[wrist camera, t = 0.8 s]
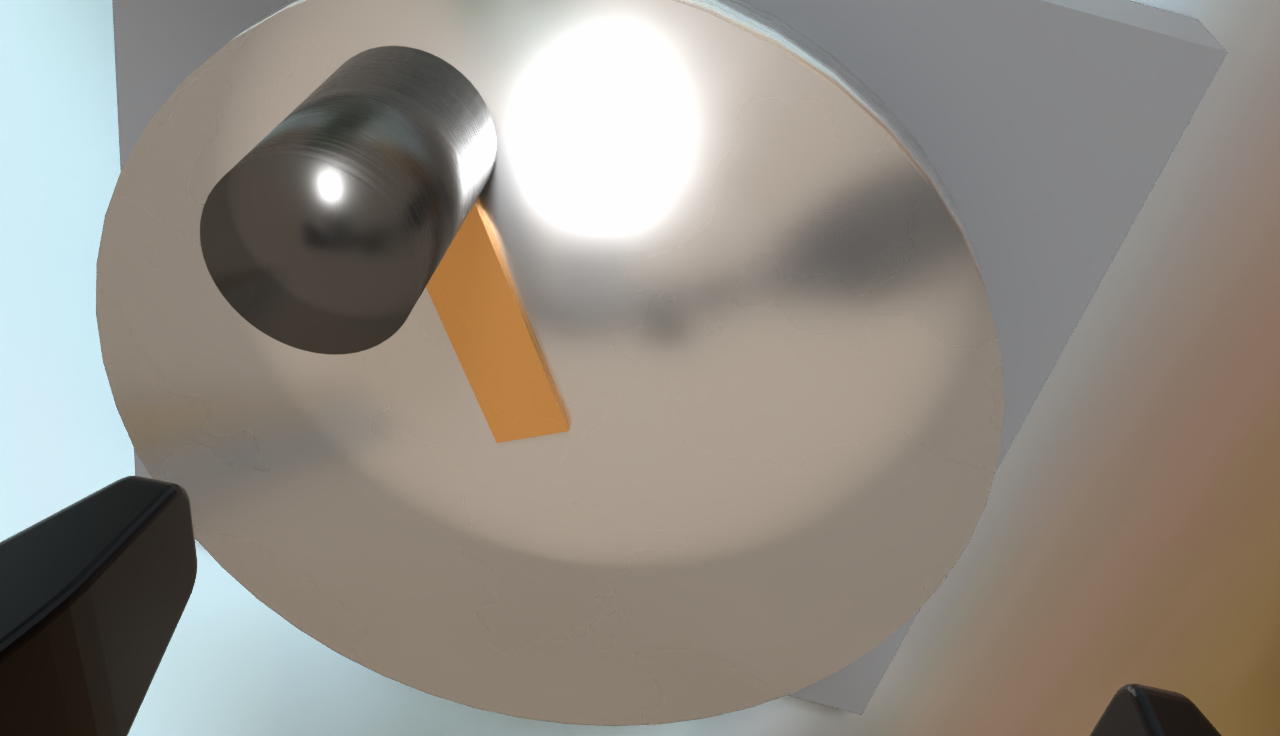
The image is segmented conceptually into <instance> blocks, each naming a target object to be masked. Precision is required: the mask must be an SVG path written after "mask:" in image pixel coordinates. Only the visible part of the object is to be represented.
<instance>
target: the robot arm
mask: <svg viewBox="0 0 1280 736" xmlns="http://www.w3.org/2000/svg"><path fill="white" fill-rule="evenodd" d="M196 573H197V557H196V549H195V540H194V532H193V523H192V515H191V506H190V500H189V496H188V494H187V492H186V490H185V489H184V488H183V487H181V486H179V485H178V484H174V483H170V482H165V481H160V480H155V479H150V478H145V477H140V476H129V477H125V478H122V479H120V480H117V481H115V482H113V483H112V484H110V485H108V486H106V487H104V488H102V489H100V490H98V491H96V492H95V493H93V494H91V495H89V496H87V497H85V498H83V499H81V500H79V501H78V502H76V503H74V504H72V505H70V506H68V507H66V508H64V509H62V510H61V511H59V512H57V513H55V514H53V515H51V516H49V517H47V518H45V519H44V520H42V521H40V522H38V523H36V524H34V525H32V526H30V527H29V528H27V529H25V530H23V531H21V532H19V533H17V534H15V535H13V536H12V537H10V538H8V539H6V540H4V541H2V542H0V736H127V735H128V733H129V731H130V728H131V726H132V724H133V722H134V720H135V717H136V715H137V713H138V711H139V709H140V706H141V704H142V702H143V700H144V697H145V695H146V693H147V691H148V689H149V686H150V684H151V682H152V680H153V677H154V675H155V673H156V671H157V669H158V666H159V664H160V662H161V660H162V657H163V655H164V653H165V651H166V649H167V646H168V644H169V642H170V640H171V638H172V635H173V633H174V631H175V629H176V626H177V624H178V622H179V620H180V618H181V615H182V613H183V611H184V609H185V606H186V604H187V602H188V600H189V598H190V595H191V593H192V590H193V586H194V583H195V578H196ZM1090 736H1221V734H1220V733H1219V732H1218V731H1217V730H1216V729H1215V727H1214V726H1213V725H1212V724H1211V723H1210V722H1209V720H1208V719H1207V718H1206V717H1205V716H1204V715H1203V714H1202V712H1201V711H1200V710H1199V709H1198V708H1197V707H1196V705H1195V704H1194V703H1193V702H1192V701H1190V700H1189V699H1188V698H1187V697H1185V696H1184V695H1182V694H1180V693H1177V692H1173V691H1168V690H1163V689H1158V688H1154V687H1149V686H1144V685H1139V684H1127V685H1125V686H1123V687H1122V688H1120V689H1119V690H1118V691H1117V693H1116V694H1115V695H1114V697H1113V698H1112V700H1111V702H1110V703H1109V705H1108V707H1107V708H1106V710H1105V712H1104V713H1103V715H1102V717H1101V718H1100V720H1099V721H1098V723H1097V725H1096V726H1095V728H1094V730H1093V731H1092V733H1091V735H1090Z"/></svg>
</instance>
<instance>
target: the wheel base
mask: <svg viewBox="0 0 1280 736" xmlns="http://www.w3.org/2000/svg"><path fill="white" fill-rule="evenodd" d="M289 1H290V0H113V21H114V42H115V62H116V83H117V104H118V125H119V145H120V166H121V170H122V167H123V166H124V164H125V162H126V160H127V159H128V157H129V155H130V153H131V152H132V150H133V148H134V146H135V145H136V143H137V141H138V139H139V138H140V136H141V134H142V133H143V131H144V129H145V127H146V126H147V124H148V122H149V121H150V120H151V118H152V117H153V116H154V115H155V114H156V112H157V111H158V110H159V109H160V108H161V106H162V105H163V104H164V103H165V102H166V101H167V99H168V98H169V97H170V96H171V95H172V93H173V92H174V91H175V90H176V89H177V87H178V86H179V85H180V84H181V83H182V82H183V80H184V79H185V78H186V77H188V76H189V75H190V74H191V73H192V72H194V71H195V70H196V69H197V68H198V67H200V66H201V65H202V64H203V63H204V62H206V61H207V60H208V59H209V58H210V57H212V56H213V55H214V54H215V53H216V52H218V51H219V50H220V49H221V48H222V47H223V46H225V45H226V44H227V43H228V42H229V41H231V40H232V39H234V38H235V37H236V36H238V35H239V34H241V33H242V32H243V31H245V30H246V29H247V28H249V27H250V26H252V25H253V24H254V23H256V22H257V21H258V20H260V19H261V18H263V17H264V16H265V15H267V14H268V13H270V12H272V11H273V10H275V9H277V8H279V7H280V6H282V5H284V4H285V3H287V2H289ZM745 1H747V2H749V3H751V4H753V5H755V6H757V7H759V8H761V9H762V10H764V11H766V12H768V13H770V14H772V15H774V16H776V17H778V18H779V19H781V20H782V21H784V22H785V23H787V24H788V25H790V26H791V27H793V28H794V29H795V30H797V31H798V32H800V33H801V34H803V35H804V36H806V37H807V38H809V39H810V40H811V41H813V42H814V43H816V44H817V45H819V46H820V47H822V48H823V49H824V50H826V51H827V52H829V53H830V54H832V55H833V56H835V57H836V58H837V59H838V60H839V61H840V62H841V63H842V64H843V65H844V66H845V67H847V68H848V69H849V70H850V71H851V72H852V73H853V74H854V75H855V76H856V77H858V78H859V79H860V80H861V81H862V82H863V83H864V84H865V85H866V86H867V87H868V88H870V89H871V90H872V91H873V92H874V93H875V94H876V95H877V96H878V97H879V98H881V99H882V100H883V101H884V102H885V104H886V105H887V106H888V107H889V108H890V110H891V111H892V112H893V113H894V115H895V116H896V117H897V118H898V119H899V121H900V122H901V123H902V124H903V125H904V127H905V128H906V129H907V130H908V132H909V133H910V134H911V135H912V136H913V138H914V139H915V140H916V141H917V142H918V144H919V145H920V146H921V147H922V149H923V150H924V151H925V153H926V154H927V156H928V158H929V159H930V161H931V163H932V164H933V166H934V168H935V169H936V171H937V173H938V174H939V176H940V178H941V179H942V181H943V183H944V184H945V186H946V188H947V189H948V191H949V192H950V194H951V196H952V197H953V199H954V201H955V202H956V205H957V207H958V210H959V212H960V215H961V217H962V219H963V222H964V224H965V227H966V229H967V232H968V234H969V236H970V239H971V241H972V244H973V246H974V248H975V251H976V253H977V256H978V260H979V264H980V268H981V272H982V277H983V281H984V285H985V289H986V293H987V297H988V301H989V306H990V310H991V314H992V318H993V322H994V327H995V331H996V335H997V339H998V343H999V347H1000V352H1001V364H1002V378H1003V393H1004V415H1003V425H1002V435H1001V445H1000V455H999V459H998V463H997V467H996V470H995V472H996V471H997V469H998V467H999V465H1000V463H1001V462H1002V460H1003V458H1004V456H1005V454H1006V453H1007V451H1008V449H1009V447H1010V445H1011V443H1012V442H1013V440H1014V438H1015V436H1016V434H1017V433H1018V431H1019V429H1020V427H1021V425H1022V424H1023V422H1024V420H1025V418H1026V416H1027V415H1028V413H1029V411H1030V409H1031V407H1032V405H1033V404H1034V402H1035V400H1036V398H1037V396H1038V395H1039V393H1040V391H1041V389H1042V387H1043V386H1044V384H1045V382H1046V380H1047V378H1048V376H1049V375H1050V373H1051V371H1052V369H1053V367H1054V366H1055V364H1056V362H1057V360H1058V358H1059V357H1060V355H1061V353H1062V351H1063V349H1064V348H1065V346H1066V344H1067V342H1068V340H1069V338H1070V337H1071V335H1072V333H1073V331H1074V329H1075V328H1076V326H1077V324H1078V322H1079V320H1080V319H1081V317H1082V315H1083V313H1084V311H1085V310H1086V308H1087V306H1088V304H1089V302H1090V300H1091V299H1092V297H1093V295H1094V293H1095V291H1096V290H1097V288H1098V286H1099V284H1100V282H1101V281H1102V279H1103V277H1104V275H1105V273H1106V271H1107V270H1108V268H1109V266H1110V264H1111V262H1112V261H1113V259H1114V257H1115V255H1116V253H1117V252H1118V250H1119V248H1120V246H1121V244H1122V243H1123V241H1124V239H1125V237H1126V235H1127V233H1128V232H1129V230H1130V228H1131V226H1132V224H1133V223H1134V221H1135V219H1136V217H1137V215H1138V214H1139V212H1140V210H1141V208H1142V206H1143V204H1144V203H1145V201H1146V199H1147V197H1148V195H1149V194H1150V192H1151V190H1152V188H1153V186H1154V185H1155V183H1156V181H1157V179H1158V177H1159V176H1160V174H1161V172H1162V170H1163V168H1164V166H1165V165H1166V163H1167V161H1168V159H1169V157H1170V156H1171V154H1172V152H1173V150H1174V148H1175V147H1176V145H1177V143H1178V141H1179V139H1180V137H1181V136H1182V134H1183V132H1184V130H1185V128H1186V127H1187V125H1188V123H1189V121H1190V119H1191V118H1192V116H1193V114H1194V112H1195V110H1196V109H1197V107H1198V105H1199V103H1200V101H1201V99H1202V98H1203V96H1204V94H1205V92H1206V90H1207V89H1208V87H1209V85H1210V83H1211V81H1212V80H1213V78H1214V76H1215V74H1216V72H1217V70H1218V69H1219V67H1220V65H1221V63H1222V61H1223V60H1224V58H1225V56H1226V54H1227V51H1226V50H1225V48H1224V47H1223V46H1222V45H1221V44H1220V43H1219V42H1218V41H1217V40H1216V39H1215V38H1214V37H1213V35H1212V34H1211V33H1210V32H1209V31H1208V30H1207V29H1206V28H1205V27H1204V26H1203V25H1202V24H1201V22H1200V21H1199V20H1198V19H1194V18H1191V17H1187V16H1184V15H1180V14H1176V13H1173V12H1169V11H1166V10H1162V9H1158V8H1155V7H1151V6H1148V5H1144V4H1140V3H1137V2H1133V1H1130V0H745ZM134 456H135V476H140V477H145V478H150V479H152V478H151V476H150V475H149V473H148V471H147V470H146V468H145V466H144V464H143V463H142V461H141V459H140V458H139V456H138V454H137V453H136V451H135V448H134ZM194 539H196V538H195V537H194ZM920 608H921V607H920ZM920 608H919V610H920ZM919 610H918V611H917V612H916V613H915V614H914V615H913V616H912V617H911V618H910V619H909V620H908V621H907V622H906V623H904V624H903V625H902V626H901V627H900V628H898V629H897V630H896V631H895V632H894V633H892V634H891V635H890V636H889V637H888V638H886V639H885V640H884V641H883V642H882V643H880V644H879V645H878V646H877V647H876V648H874V649H873V650H871V651H869V652H868V653H866V654H865V655H863V656H862V657H860V658H858V659H857V660H855V661H854V662H852V663H850V664H849V665H847V666H846V667H844V668H843V669H841V670H839V671H838V672H836V673H834V674H832V675H830V676H828V677H826V678H824V679H822V680H819V681H817V682H815V683H813V684H811V685H809V686H807V687H805V688H803V689H801V690H799V691H796V692H794V693H791V694H788V696H792V697H796V698H800V699H803V700H807V701H811V702H815V703H818V704H822V705H826V706H830V707H834V708H837V709H841V710H845V711H849V712H853V713H856V714H860V715H862V713H863V711H864V710H865V708H866V706H867V704H868V702H869V701H870V699H871V697H872V695H873V693H874V692H875V690H876V688H877V686H878V684H879V683H880V681H881V679H882V677H883V675H884V673H885V672H886V670H887V668H888V666H889V664H890V663H891V661H892V659H893V657H894V655H895V654H896V652H897V650H898V648H899V646H900V644H901V643H902V641H903V639H904V637H905V635H906V634H907V632H908V630H909V628H910V626H911V625H912V623H913V621H914V619H915V617H916V616H917V614H918V612H919Z"/></svg>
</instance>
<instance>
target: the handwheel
mask: <svg viewBox="0 0 1280 736" xmlns="http://www.w3.org/2000/svg"><path fill="white" fill-rule="evenodd" d="M96 316H97V323H98V330H99V337H100V344H101V350H102V357H103V363H104V366H105V370H106V373H107V376H108V380H109V383H110V387H111V390H112V394H113V397H114V401H115V404H116V407H117V410H118V412H119V414H120V416H121V419H122V421H123V423H124V426H125V428H126V430H127V432H128V435H129V437H130V439H131V442H132V444H133V446H134V448H135V451H136V453H137V454H138V456H139V458H140V459H141V461H142V463H143V464H144V466H145V468H146V470H147V471H148V473H149V475H150V476H151V478H152V479H155V480H160V481H165V482H170V483H174V484H178V485H179V486H181V487H183V488H184V489H185V490H186V492H187V494H188V496H189V500H190V506H191V515H192V523H193V532H194V537H195V538H196V539H197V541H198V542H199V543H200V544H201V545H202V546H203V547H204V548H205V549H206V550H207V551H208V552H209V554H210V555H211V556H212V557H213V558H214V559H215V560H216V561H217V562H218V563H219V564H220V565H221V566H222V568H224V569H225V570H226V571H227V572H228V573H229V574H230V575H231V576H233V577H234V578H235V579H236V580H237V581H238V582H239V583H240V584H242V585H243V586H244V587H245V588H246V589H247V590H248V591H249V592H251V593H252V594H253V595H254V596H255V597H256V598H257V599H258V600H260V601H261V602H262V603H264V604H265V605H266V606H268V607H269V608H271V609H272V610H273V611H275V612H276V613H277V614H279V615H280V616H281V617H283V618H284V619H285V620H287V621H288V622H289V623H291V624H292V625H294V626H295V627H296V628H298V629H299V630H301V631H303V632H304V633H306V634H307V635H309V636H311V637H312V638H314V639H316V640H317V641H319V642H321V643H322V644H324V645H325V646H327V647H329V648H330V649H332V650H334V651H335V652H337V653H339V654H340V655H342V656H344V657H346V658H348V659H350V660H352V661H354V662H357V663H359V664H361V665H363V666H365V667H367V668H369V669H371V670H373V671H375V672H377V673H379V674H381V675H383V676H385V677H388V678H390V679H393V680H395V681H398V682H400V683H403V684H405V685H408V686H410V687H413V688H415V689H418V690H420V691H423V692H425V693H428V694H431V695H434V696H438V697H441V698H444V699H447V700H451V701H454V702H457V703H460V704H464V705H467V706H470V707H474V708H478V709H483V710H487V711H492V712H497V713H501V714H506V715H510V716H515V717H519V718H527V719H535V720H542V721H550V722H557V723H565V724H583V725H604V726H625V725H648V724H664V723H672V722H679V721H687V720H694V719H701V718H708V717H712V716H716V715H721V714H725V713H729V712H733V711H738V710H742V709H746V708H750V707H754V706H757V705H760V704H762V703H765V702H768V701H771V700H774V699H777V698H780V697H782V696H785V695H788V694H791V693H794V692H796V691H799V690H801V689H803V688H805V687H807V686H809V685H811V684H813V683H815V682H817V681H819V680H822V679H824V678H826V677H828V676H830V675H832V674H834V673H836V672H838V671H839V670H841V669H843V668H844V667H846V666H847V665H849V664H850V663H852V662H854V661H855V660H857V659H858V658H860V657H862V656H863V655H865V654H866V653H868V652H869V651H871V650H873V649H874V648H876V647H877V646H878V645H879V644H880V643H882V642H883V641H884V640H885V639H886V638H888V637H889V636H890V635H891V634H892V633H894V632H895V631H896V630H897V629H898V628H900V627H901V626H902V625H903V624H904V623H906V622H907V621H908V620H909V619H910V618H911V617H912V616H913V615H914V614H915V613H916V612H917V611H918V610H919V608H920V607H921V606H922V605H923V604H924V603H925V602H926V601H927V600H928V599H929V597H930V596H931V595H932V594H933V593H934V592H935V591H936V590H937V589H938V588H939V586H940V585H941V584H942V583H943V581H944V580H945V578H946V577H947V575H948V574H949V572H950V571H951V569H952V568H953V566H954V565H955V563H956V562H957V560H958V559H959V557H960V556H961V554H962V553H963V551H964V550H965V548H966V547H967V545H968V542H969V540H970V538H971V536H972V534H973V532H974V529H975V527H976V525H977V523H978V521H979V519H980V516H981V514H982V512H983V510H984V508H985V505H986V503H987V500H988V496H989V492H990V489H991V485H992V481H993V478H994V474H995V470H996V467H997V463H998V459H999V455H1000V445H1001V435H1002V425H1003V415H1004V393H1003V378H1002V364H1001V352H1000V347H999V343H998V339H997V335H996V331H995V327H994V322H993V318H992V314H991V310H990V306H989V301H988V297H987V293H986V289H985V285H984V281H983V277H982V272H981V268H980V264H979V260H978V256H977V253H976V251H975V248H974V246H973V244H972V241H971V239H970V236H969V234H968V232H967V229H966V227H965V224H964V222H963V219H962V217H961V215H960V212H959V210H958V207H957V205H956V202H955V201H954V199H953V197H952V196H951V194H950V192H949V191H948V189H947V188H946V186H945V184H944V183H943V181H942V179H941V178H940V176H939V174H938V173H937V171H936V169H935V168H934V166H933V164H932V163H931V161H930V159H929V158H928V156H927V154H926V153H925V151H924V150H923V149H922V147H921V146H920V145H919V144H918V142H917V141H916V140H915V139H914V138H913V136H912V135H911V134H910V133H909V132H908V130H907V129H906V128H905V127H904V125H903V124H902V123H901V122H900V121H899V119H898V118H897V117H896V116H895V115H894V113H893V112H892V111H891V110H890V108H889V107H888V106H887V105H886V104H885V102H884V101H883V100H882V99H881V98H879V97H878V96H877V95H876V94H875V93H874V92H873V91H872V90H871V89H870V88H868V87H867V86H866V85H865V84H864V83H863V82H862V81H861V80H860V79H859V78H858V77H856V76H855V75H854V74H853V73H852V72H851V71H850V70H849V69H848V68H847V67H845V66H844V65H843V64H842V63H841V62H840V61H839V60H838V59H837V58H836V57H835V56H833V55H832V54H830V53H829V52H827V51H826V50H824V49H823V48H822V47H820V46H819V45H817V44H816V43H814V42H813V41H811V40H810V39H809V38H807V37H806V36H804V35H803V34H801V33H800V32H798V31H797V30H795V29H794V28H793V27H791V26H790V25H788V24H787V23H785V22H784V21H782V20H781V19H779V18H778V17H776V16H774V15H772V14H770V13H768V12H766V11H764V10H762V9H761V8H759V7H757V6H755V5H753V4H751V3H749V2H747V1H745V0H290V1H289V2H287V3H285V4H284V5H282V6H280V7H279V8H277V9H275V10H273V11H272V12H270V13H268V14H267V15H265V16H264V17H263V18H261V19H260V20H258V21H257V22H256V23H254V24H253V25H252V26H250V27H249V28H247V29H246V30H245V31H243V32H242V33H241V34H239V35H238V36H236V37H235V38H234V39H232V40H231V41H229V42H228V43H227V44H226V45H225V46H223V47H222V48H221V49H220V50H219V51H218V52H216V53H215V54H214V55H213V56H212V57H210V58H209V59H208V60H207V61H206V62H204V63H203V64H202V65H201V66H200V67H198V68H197V69H196V70H195V71H194V72H192V73H191V74H190V75H189V76H188V77H186V78H185V79H184V80H183V82H182V83H181V84H180V85H179V86H178V87H177V89H176V90H175V91H174V92H173V93H172V95H171V96H170V97H169V98H168V99H167V101H166V102H165V103H164V104H163V105H162V106H161V108H160V109H159V110H158V111H157V112H156V114H155V115H154V116H153V117H152V118H151V120H150V121H149V122H148V124H147V126H146V127H145V129H144V131H143V133H142V134H141V136H140V138H139V139H138V141H137V143H136V145H135V146H134V148H133V150H132V152H131V153H130V155H129V157H128V159H127V160H126V162H125V164H124V166H123V167H122V170H121V173H120V176H119V178H118V181H117V184H116V187H115V190H114V192H113V195H112V198H111V201H110V203H109V206H108V209H107V212H106V215H105V220H104V225H103V231H102V237H101V242H100V248H99V254H98V259H97V279H96Z"/></svg>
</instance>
